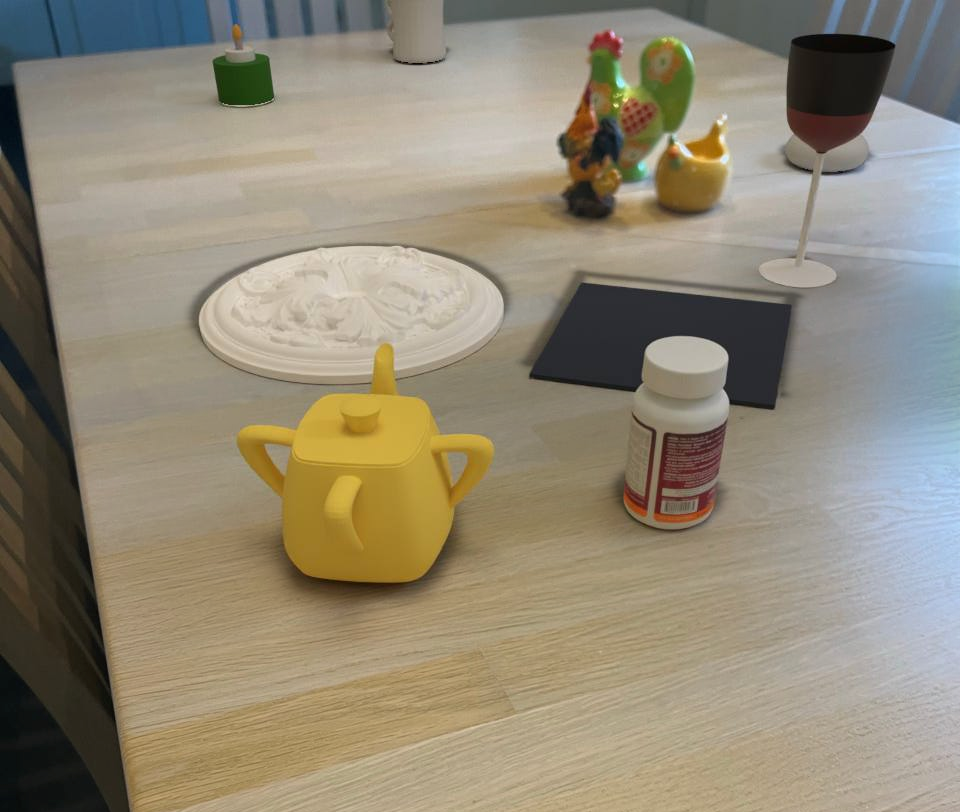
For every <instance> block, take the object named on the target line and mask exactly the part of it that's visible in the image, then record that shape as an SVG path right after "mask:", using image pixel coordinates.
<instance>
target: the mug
mask: <svg viewBox="0 0 960 812" xmlns="http://www.w3.org/2000/svg"><path fill="white" fill-rule="evenodd" d="M385 8H386V11H387V13H388V16H389V17H390V20H389V21H388V23H387V24H386V32H387V35H388V37H389V39H390V40H391V41H392V55H393V58H394V59H395V60H396V61H397V60H398V61H397V62H399V61H401V62H400V63H403V62H408V63H407V64H412V63H423V64H428V63H427V62H433V63H436V62H435V61H438V62H440V61H439V60H441V61H443V60H444V59H445V58H446V56H447V44H446V38H445V36H446V35H445V27H444V0H385ZM442 59H443V60H442Z"/></svg>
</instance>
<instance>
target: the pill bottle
mask: <svg viewBox="0 0 960 812" xmlns="http://www.w3.org/2000/svg"><path fill="white" fill-rule="evenodd" d="M727 367H728V354H727V352H726V350H725V349H724V348H723V347H721V346H720V345H718V344H717V343H715V342H712V341H710V340H706V339H703V338H698V337H690V336H673V337H667V338H662V339H659V340H656V341H654V342H652V343H651V344H650V345H649V346H648V347H647V348H646V350H645V354H644V363H643V369H642V381H643V382H644V383H642V384H641V385H640V386H639V388H638V389H637V390H636V391H634V395H633V398H632V404H631V412H630V423H629V424H630V425H629V434H628V435H629V436H628V443H627V444H628V445H627V455H626V467H625V478H624V488H623V505H624V507H625V509H626V511H627V512H628V514H630V515H631V516H632V517H633V518H634V519H636V520H637V521H638V522H640V523H643V524H644V525H647V526H650V527H653V528H657V529H661V530H680V529H686V528H687V529H688V528H691V527H694V526H696V525H699V524H701V523H702V522H704V521H705V520H707V519H708V517H709V516H710V515H711V514H712V512H713V510H714V505H715V500H716V499H715V498H716V494H717V487H718V480H719V476H720V475H719V474H720V469H721V463H722V456H723V449H724V444H725V438H726V431H727V426H728V420H729V415H730V404H729V399H728V396H727V394H726V392H725V391H724V390H723V387H724V385H725V382H726V373H727Z"/></svg>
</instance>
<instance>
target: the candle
mask: <svg viewBox="0 0 960 812" xmlns="http://www.w3.org/2000/svg"><path fill="white" fill-rule="evenodd" d="M231 36H232V39H233V40H234V46H231V47H227V48H225V49H224V55H220V56H217V57H215V58H214V59H212V66H213V73H214V79H215V85H216V89H217V97H218V102H219V101H220V102H221V103H224V104H228V105H255V104H261V103H265V102H268V101H271V100H272V99H273V98H274V99H275V92H274V84H273V76H272V69H271V62H270V57H269V55H266V54H263V53H255V52H256V51H255V48H254V47H252V46H248V45H246V46H244V45H243V31H242V29H241V27H240V25H238V24H237V23H236V24H234V25H233V26H232V30H231Z"/></svg>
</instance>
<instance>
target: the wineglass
mask: <svg viewBox="0 0 960 812" xmlns="http://www.w3.org/2000/svg"><path fill="white" fill-rule="evenodd" d="M896 46H897V45H896V44H895V43H894V42H892V41H891V40H888V39H886V38H885V39H884V38H881V37H877V36H870V35H864V34H863V35H862V34H851V33H815V34H813V33H812V34H806V35H805V34H804V35H800V36H797V37H794V38H792V39H791V41H790V46H789V53H788V62H787V74H786V88H785V89H786V90H785V92H786V93H785V94H786V95H785V96H786V106H785V107H786V108H785V109H786V121H787V124H788V127H789V129H790V131H791V132H792V133H793V134H795V135H796V136H797V137H798V138H799V139H800V140H801V141H803V142H804V143H806V144H807V145H809V146H810V147H811V148H813V149H814V150H815V151H816V152H817V155H816V160H815V165H814V170H813V171H812V175H811V181H810V184H809V185H810V186H809V189H808V190H809V191H808V196H807V200H806V206H805V211H804V217H803V222H802V226H801V231H800V235H799V241H798V246H797V247H798V248H797V252H796V257H795V258H788V257H786V258H784V257H783V258H776V259H771V260H769V261H765V262H763V263H762V264H761V265H760V266H759V267H758V272H759V275H760V276H761V277H763V278H764V279H765V280H767V281H769V282H772V283H774V284H778V285H781V286H785V287H792V288H818V287H824V286H827V285H831V283H833V282H834V281H836V278H837V273H836V272H835V271H836V270H834V269H833V268H831V267H830V266H828V265H827V264H824V263H822V262H818V261H814V260H810V259H805V256H806V251H807V246H808V241H809V237H810V231H811V227H812V222H813V221H812V220H813V216H814V211H815V206H816V201H817V198H818V197H817V196H818V192H819V187H820V181H821V176H822V173H823V172H822V167H823V162H824V157H825V153H826V152H827V151H829V150H832V149H834V148H836V147H838V146H841V145H843V144H846V143H847V142H849V141H851V140H853V139H854V138H856V137H857V136H859V135H862V133H864V131H865V129H867V127H868V126H869V124H870V122H871V120H872V118H873V116H874V113H875V110H876V108H877V106H878V103H879V101H880V98H881V96H882V94H883V90H884V88H885V85H886V82H887V78H888V75H889V72H890V69H891V67H892V62H893V58H894V54H895V50H896Z"/></svg>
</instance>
